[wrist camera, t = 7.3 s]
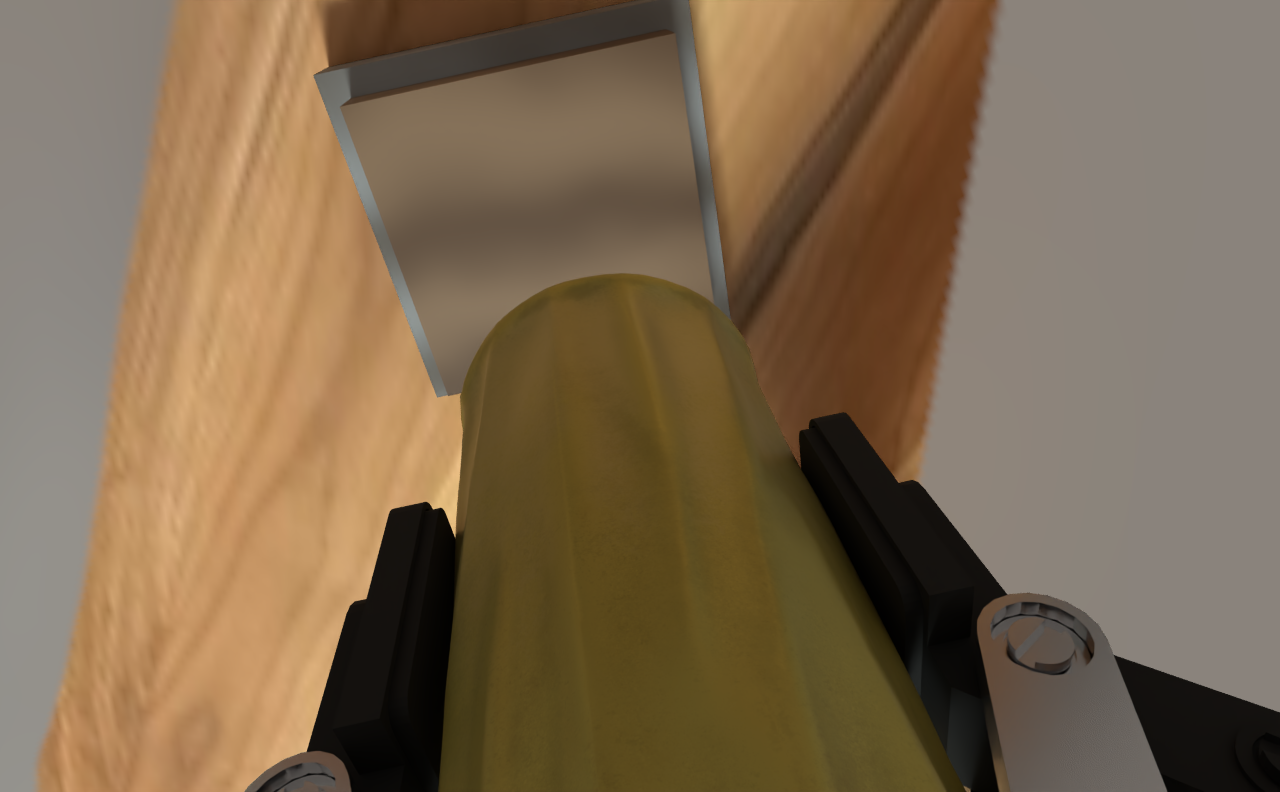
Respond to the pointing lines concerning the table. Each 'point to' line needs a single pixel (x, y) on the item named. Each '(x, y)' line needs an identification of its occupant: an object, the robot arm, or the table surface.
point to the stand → (530, 167)
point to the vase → (656, 572)
